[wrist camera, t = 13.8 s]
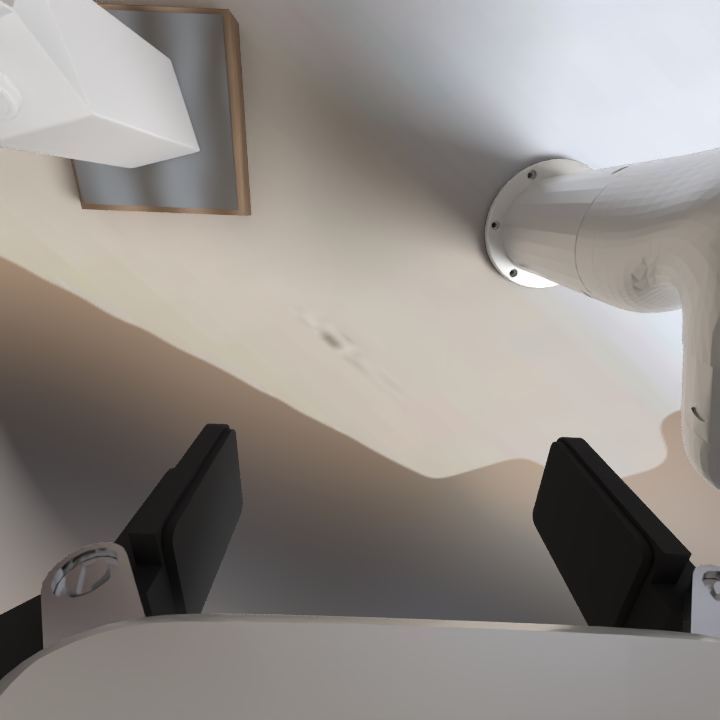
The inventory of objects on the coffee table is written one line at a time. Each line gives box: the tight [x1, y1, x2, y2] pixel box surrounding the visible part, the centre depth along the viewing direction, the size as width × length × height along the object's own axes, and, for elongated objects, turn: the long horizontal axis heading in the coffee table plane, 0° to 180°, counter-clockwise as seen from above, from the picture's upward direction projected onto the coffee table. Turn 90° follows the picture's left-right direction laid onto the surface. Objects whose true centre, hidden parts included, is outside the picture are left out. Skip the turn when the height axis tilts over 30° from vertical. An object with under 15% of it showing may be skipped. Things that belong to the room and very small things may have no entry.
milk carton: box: [0, 0, 200, 168], centre depth 25 cm, size 7×7×19 cm
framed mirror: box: [71, 4, 251, 215], centre depth 35 cm, size 16×16×3 cm
